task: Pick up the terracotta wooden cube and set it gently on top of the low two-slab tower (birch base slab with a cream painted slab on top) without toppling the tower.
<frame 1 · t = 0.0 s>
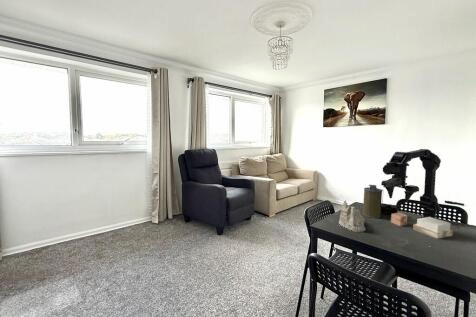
hand: (398, 200, 136), 15 cm above the table, fingers open, 9 cm apart
ceramic cottage: (353, 226, 136), on the table
birch base slab: (432, 233, 127), on the table, touching cream top slab
terracotta cube: (398, 223, 139), on the table
cream top slab: (432, 227, 126), point 3 cm above the table, touching birch base slab
end cap: (388, 214, 155), on the table
canister: (371, 215, 153), on the table
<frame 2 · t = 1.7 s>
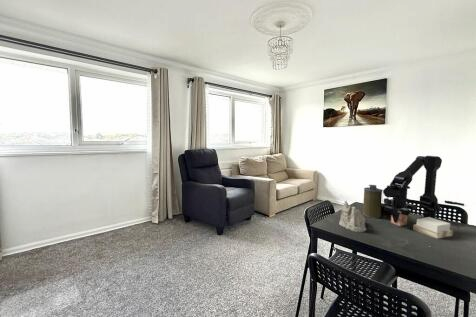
hand: (398, 221, 139), 1 cm above the table, fingers closed on terracotta cube, 5 cm apart
terracotta cube: (398, 223, 139), on the table, touching gripper
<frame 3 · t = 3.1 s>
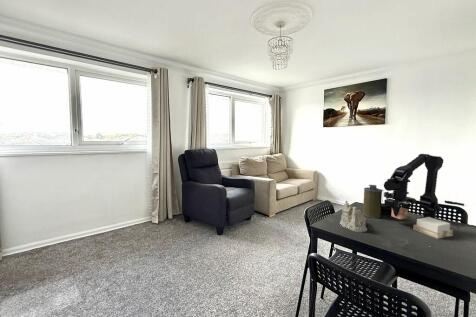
hand: (399, 215, 139), 5 cm above the table, fingers closed on terracotta cube, 5 cm apart
terracotta cube: (399, 217, 139), point 4 cm above the table, touching gripper
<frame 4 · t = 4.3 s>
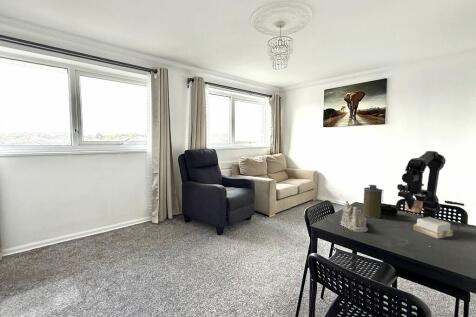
hand: (413, 208, 133), 11 cm above the table, fingers closed on terracotta cube, 5 cm apart
terracotta cube: (413, 210, 133), point 10 cm above the table, touching gripper
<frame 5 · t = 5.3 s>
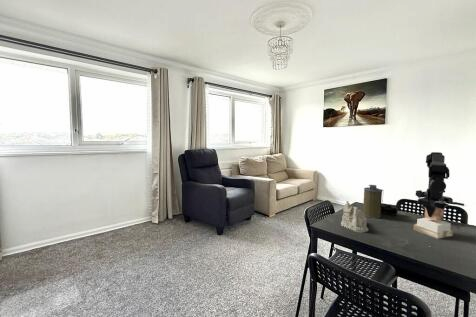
hand: (433, 216, 126), 9 cm above the table, fingers closed on terracotta cube, 5 cm apart
birch base slab: (432, 233, 127), on the table
terracotta cube: (433, 218, 126), point 8 cm above the table, touching gripper
cream top slab: (433, 227, 126), point 3 cm above the table
when the fingers open (9 cm above the table, at t = 6.0 s): terracotta cube drops 2 cm, point 6 cm above the table.
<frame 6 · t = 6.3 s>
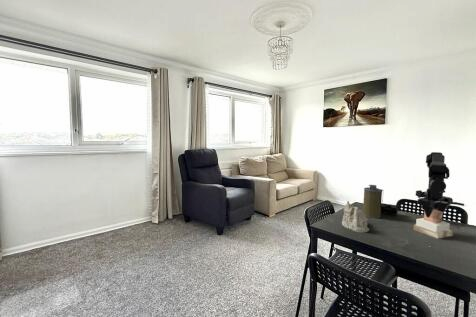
hand: (433, 216, 126), 9 cm above the table, fingers open, 9 cm apart
birch base slab: (432, 233, 127), on the table, touching cream top slab
terracotta cube: (432, 220, 126), point 6 cm above the table
cream top slab: (432, 227, 126), point 3 cm above the table, touching birch base slab
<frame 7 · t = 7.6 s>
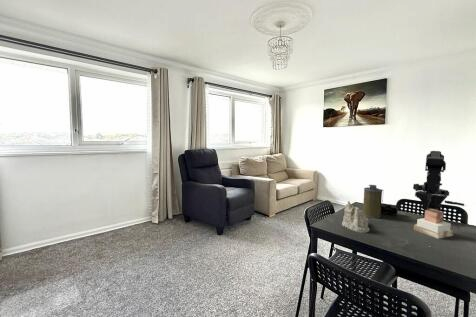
hand: (430, 208, 129), 12 cm above the table, fingers open, 9 cm apart
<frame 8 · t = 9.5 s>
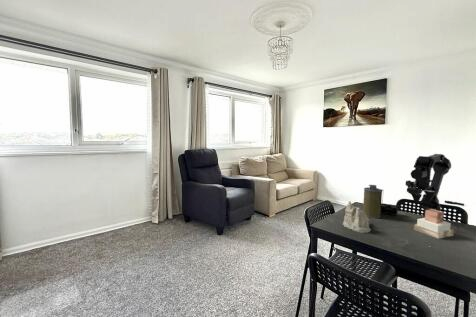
hand: (421, 203, 138), 12 cm above the table, fingers open, 9 cm apart
terracotta cube: (433, 221, 126), point 6 cm above the table, touching cream top slab
cream top slab: (433, 227, 126), point 3 cm above the table, touching birch base slab, terracotta cube
at the end: terracotta cube 0.0 cm off-centre on the cream top slab, point 3.5 cm above the cream top slab's base; cream top slab 0.3 cm off-centre on the birch base slab, point 3.5 cm above the birch base slab's base; the gripper is holding nothing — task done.
